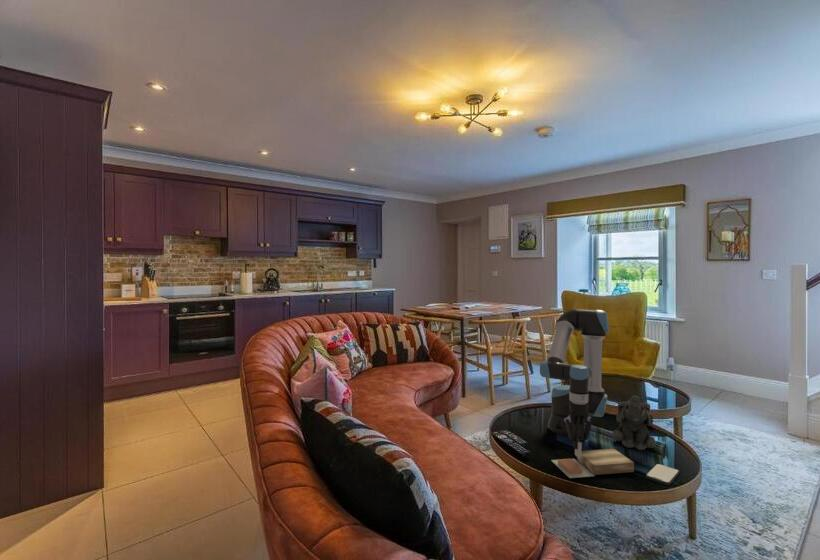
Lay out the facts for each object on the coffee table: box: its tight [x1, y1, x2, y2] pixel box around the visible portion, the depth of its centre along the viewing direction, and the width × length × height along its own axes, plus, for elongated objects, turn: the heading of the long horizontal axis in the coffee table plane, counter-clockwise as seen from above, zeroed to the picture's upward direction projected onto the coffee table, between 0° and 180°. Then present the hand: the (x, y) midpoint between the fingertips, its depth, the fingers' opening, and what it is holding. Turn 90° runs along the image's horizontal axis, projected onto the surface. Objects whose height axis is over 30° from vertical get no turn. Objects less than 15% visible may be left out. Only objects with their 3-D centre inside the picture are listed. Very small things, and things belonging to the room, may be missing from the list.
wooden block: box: [576, 448, 635, 476], centre depth 173 cm, size 13×18×4 cm
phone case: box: [645, 463, 680, 486], centre depth 166 cm, size 9×2×16 cm
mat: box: [551, 458, 595, 479], centre depth 171 cm, size 15×11×1 cm
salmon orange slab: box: [557, 458, 583, 474], centre depth 170 cm, size 9×6×2 cm, turn 9°
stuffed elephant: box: [611, 395, 656, 451], centre depth 195 cm, size 19×21×27 cm
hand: (578, 456), depth 172 cm, fingers closed
